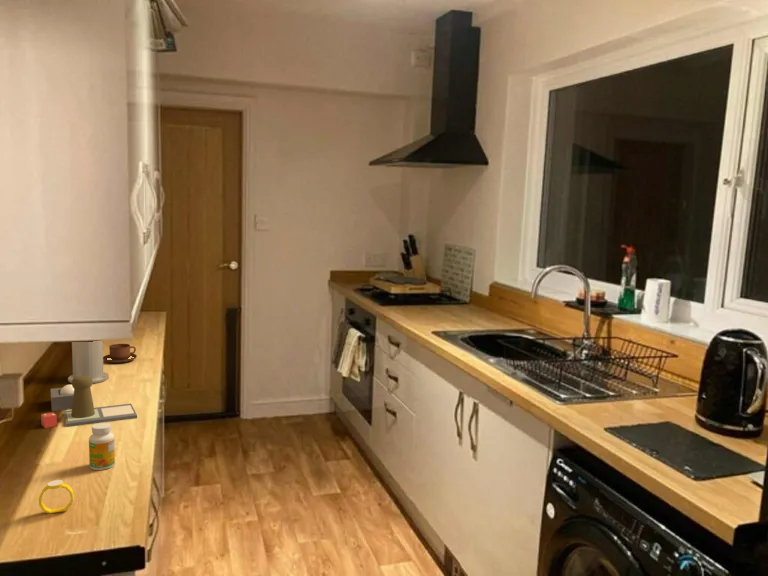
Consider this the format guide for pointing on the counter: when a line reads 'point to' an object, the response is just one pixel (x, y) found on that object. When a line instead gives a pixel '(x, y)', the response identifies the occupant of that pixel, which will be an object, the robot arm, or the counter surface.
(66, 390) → the cream white ball
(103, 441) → the supplement bottle
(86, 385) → the brown pepper mill
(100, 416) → the game board
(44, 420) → the red die
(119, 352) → the cup and saucer
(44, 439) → the counter surface
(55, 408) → the gray square holder
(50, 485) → the watch
